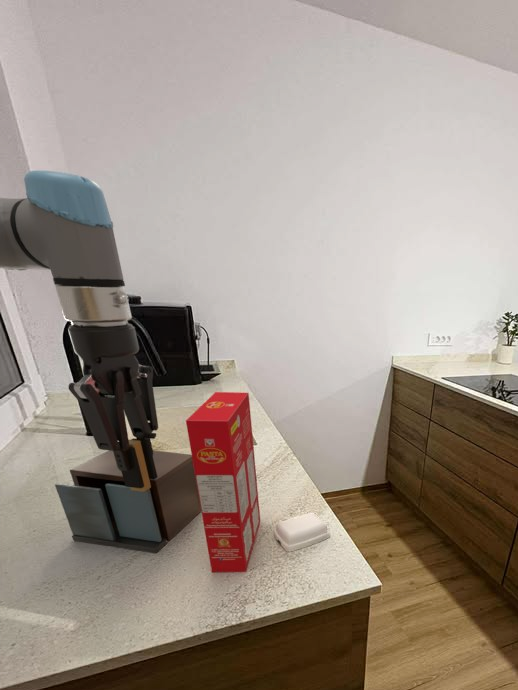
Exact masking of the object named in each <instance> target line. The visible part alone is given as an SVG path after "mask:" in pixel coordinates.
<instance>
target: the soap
mask: <svg viewBox="0 0 518 690" xmlns="http://www.w3.org/2000/svg"><path fill="white" fill-rule="evenodd" d="M330 533H331V532H330V530H329V529H328V524H326V522H325V521H324V520H323V519H322V518H321V517H319V516H318V515H317V514H316V513H314V512H308V513H304V514H301V515H297V516H295V517H291V518H288V519H285V520H282V521H279V522H277V523H276V524H275V529H274V530H273V536H274V538H275V540H276V541H279V543H280V546H281V547H282V548H283V549H284V550H285V551H286V552H294V551H297V550H301V549H303V548H306V547H310V546H312V545H315V544H318V543H320V542H323V541H325V540H327V539H329V538H330V536H331V535H330Z"/></svg>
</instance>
